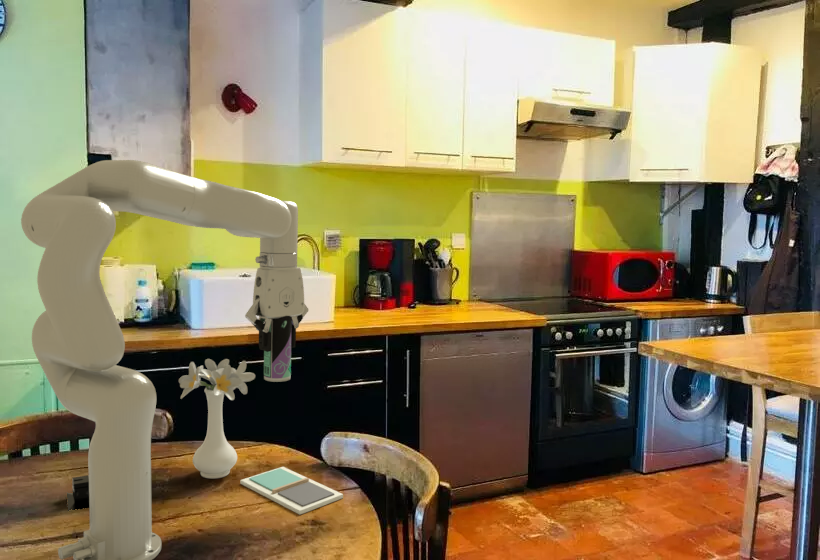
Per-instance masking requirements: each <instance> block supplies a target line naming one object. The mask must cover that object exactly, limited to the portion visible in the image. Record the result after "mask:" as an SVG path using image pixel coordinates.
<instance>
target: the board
mask: <svg viewBox="0 0 820 560" xmlns="http://www.w3.org/2000/svg"><path fill="white" fill-rule="evenodd" d="M240 485H242V486H244V487H246V488H248V489H250V490H252V491H254V492H255V493H258V494H259V495H261V496H263V497H265V498H267V499H269V500H271V501H272V502H275V503H277V504H278V505H280V506H282V507H284V508H286V509H288V510H290V511H292V512H294V513H295V514H297V515H303V514H305V513H309V512H311V511H313V510H315V509H318V508H322V507H323V506H326V505H328V504H331V503H334V502H336V501H340V500H342V499H343V498H344V494H343V493H341V492H340V491H337V490H334V488H331V487H328V486H326V485H324V484H322V483H319V482H317V481H316V480H313V479H312V478H309V477H307V476H304V475H303V474H299V472H295V471H293V470H292V469H289V468H288V467H285V466H281V467H278V468H274V469H270V470H267V471H265V472H261V473H258V474H255V475H252V476H250V477H246V478H243V479H240Z"/></svg>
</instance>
